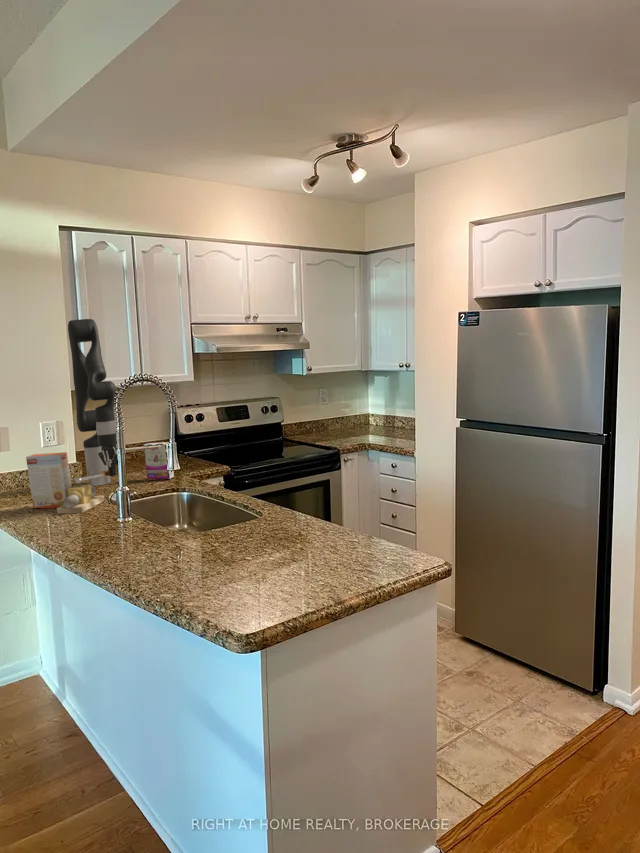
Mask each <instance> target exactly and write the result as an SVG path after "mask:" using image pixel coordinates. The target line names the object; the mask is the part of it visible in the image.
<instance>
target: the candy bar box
mask: <svg viewBox="0 0 640 853" xmlns="http://www.w3.org/2000/svg"><path fill="white" fill-rule="evenodd" d="M169 442H170V441H168V442H167V441H166V442H164V441H163V442H162V441H161V442H148V443H145V444H143V453H144V460H145V461H144V462H145V469H146V470H145V471H146V478H148V479H170V480H172V479H174V478H175V473H174V472H175V471H172V472H171V471H168V470H167V463H168V443H169ZM158 445H161V447H158V448H153V449H144V447H149V446H158ZM173 477H174V478H173ZM171 478H172V479H171ZM148 479H147V480H148Z"/></svg>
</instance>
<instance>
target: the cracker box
mask: <svg viewBox="0 0 640 853" xmlns="http://www.w3.org/2000/svg"><path fill="white" fill-rule="evenodd" d="M25 458H26V459H25V460H26V466H27V474H28V475H27V476H28V480H29V488H30V494H31V496H30V497H31V501H32V502H31V503H32V508H41V509H55V507H57V508H58V507H60V506H62V505H64V499H65V498H67V497H68V488H70V487H73V486H72V480H71V479H72V478H71V472H70V464H69V459H68V458H69V457H68V452H66V451H64V452H47V453H36V454H34V453H33V454H30V455H29V456H26V457H25ZM57 508H56V509H57Z"/></svg>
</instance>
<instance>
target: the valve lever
mask: <svg viewBox="0 0 640 853" xmlns="http://www.w3.org/2000/svg"><path fill="white" fill-rule="evenodd" d="M100 476H105V477H106V476H109V471H108V470H106V471H102V472H101V473H98V474H94V475H90V476H87V475H86V476H82V477H81V476H79V477H78V476H77V477H74V479H73V480H74V485H77V484H81V485H82V484H83V482H84V481H88V479H92V478H96V477H100Z"/></svg>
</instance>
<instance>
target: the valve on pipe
mask: <svg viewBox="0 0 640 853" xmlns="http://www.w3.org/2000/svg"><path fill="white" fill-rule="evenodd" d="M96 494H97V489H96V488H95V486H90V484H88V483H87V484H82V483H81V484H74V485H73V486H72V487H70V488H68V497H67V498H65V499H64V505H62V506H60V507H58V508H56V512H57V513H59V514H78V513H80V514H83V513H84V512H86V511H88V510H91V509H92V508H94V507H96V506H97V505H99V504H101V503H103V502H104V501H105V496H104V495H96Z"/></svg>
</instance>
